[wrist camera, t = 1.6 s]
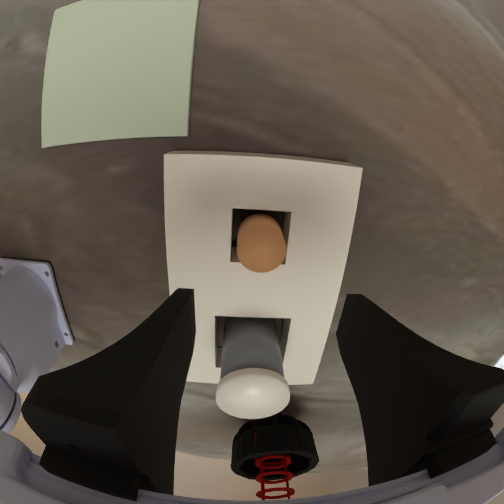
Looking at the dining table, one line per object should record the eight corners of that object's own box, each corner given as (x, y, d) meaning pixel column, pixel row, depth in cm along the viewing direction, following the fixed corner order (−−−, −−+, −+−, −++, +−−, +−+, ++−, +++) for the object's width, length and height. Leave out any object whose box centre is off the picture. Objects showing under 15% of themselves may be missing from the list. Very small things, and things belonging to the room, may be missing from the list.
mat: (188, 135, 18) (187, 136, 17) (45, 147, 17) (41, 147, 17) (202, -18, 13) (201, -21, 12) (58, 11, 12) (55, 9, 12)
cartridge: (275, 346, 25) (284, 418, 18) (221, 344, 25) (216, 417, 18) (281, 303, 23) (295, 377, 16) (222, 301, 23) (214, 375, 16)
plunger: (279, 255, 19) (283, 273, 17) (236, 253, 19) (235, 271, 17) (283, 214, 18) (289, 228, 16) (238, 212, 18) (237, 226, 16)
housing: (308, 365, 27) (312, 384, 24) (184, 361, 26) (180, 380, 24) (349, 162, 19) (362, 168, 17) (173, 150, 18) (164, 154, 16)
